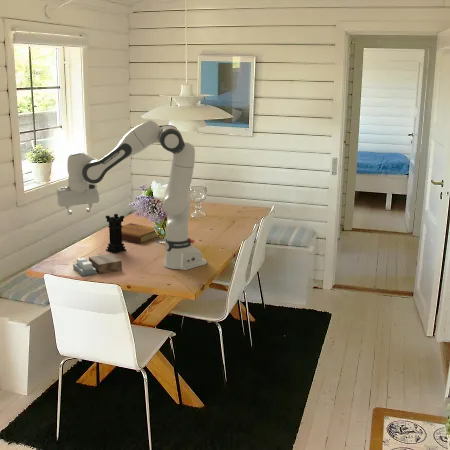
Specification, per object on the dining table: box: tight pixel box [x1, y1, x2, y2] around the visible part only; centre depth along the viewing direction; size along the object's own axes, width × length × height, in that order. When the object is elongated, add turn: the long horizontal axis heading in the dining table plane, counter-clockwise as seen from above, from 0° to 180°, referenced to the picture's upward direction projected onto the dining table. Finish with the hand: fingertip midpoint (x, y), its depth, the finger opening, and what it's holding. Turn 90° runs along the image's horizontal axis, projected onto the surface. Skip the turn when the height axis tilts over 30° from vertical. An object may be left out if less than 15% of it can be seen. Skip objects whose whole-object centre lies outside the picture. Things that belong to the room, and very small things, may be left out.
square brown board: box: [88, 252, 123, 275], centre depth 299 cm, size 12×14×5 cm
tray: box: [72, 262, 97, 277], centre depth 294 cm, size 7×14×2 cm, turn 32°
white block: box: [76, 256, 88, 269], centre depth 297 cm, size 4×4×5 cm
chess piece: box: [105, 213, 127, 255], centre depth 326 cm, size 8×8×20 cm
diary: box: [122, 222, 158, 245], centre depth 353 cm, size 23×19×6 cm
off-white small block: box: [82, 260, 92, 271], centre depth 291 cm, size 4×4×5 cm
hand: (79, 213), depth 290 cm, fingers open, 8 cm apart
